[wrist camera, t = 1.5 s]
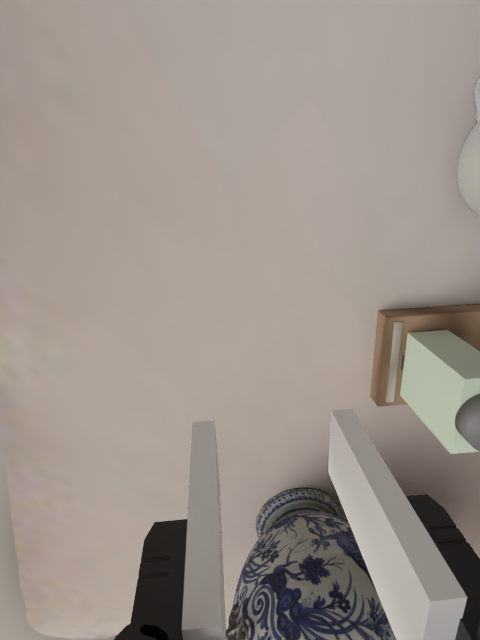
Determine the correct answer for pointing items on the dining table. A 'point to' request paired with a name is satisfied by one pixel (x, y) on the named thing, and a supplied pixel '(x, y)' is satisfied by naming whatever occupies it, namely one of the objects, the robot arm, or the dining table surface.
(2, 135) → the dining table surface
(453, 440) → the fader tab
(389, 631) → the decorative vase
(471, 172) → the teacup
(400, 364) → the fader track
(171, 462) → the dining table surface
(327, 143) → the dining table surface
